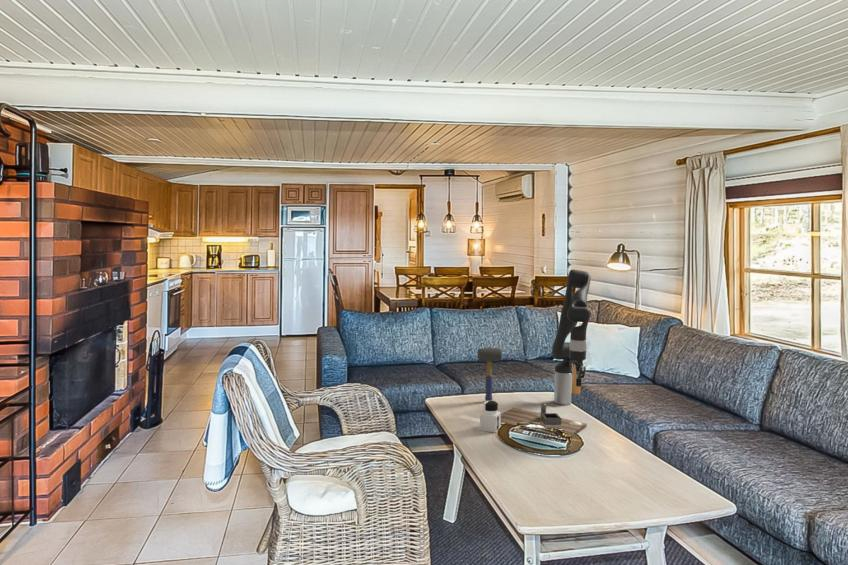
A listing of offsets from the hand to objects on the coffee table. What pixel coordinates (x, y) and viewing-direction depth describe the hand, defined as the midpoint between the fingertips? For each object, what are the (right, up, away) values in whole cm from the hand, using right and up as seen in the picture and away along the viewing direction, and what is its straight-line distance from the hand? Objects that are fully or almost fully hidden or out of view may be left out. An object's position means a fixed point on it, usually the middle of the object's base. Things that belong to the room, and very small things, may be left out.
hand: (576, 384), depth 252 cm
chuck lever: (-14, -18, +2) cm, 23 cm away
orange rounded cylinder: (0, -4, 0) cm, 4 cm away
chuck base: (-17, -20, +5) cm, 27 cm away
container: (-41, -20, -2) cm, 46 cm away
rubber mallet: (-37, -17, +41) cm, 58 cm away
